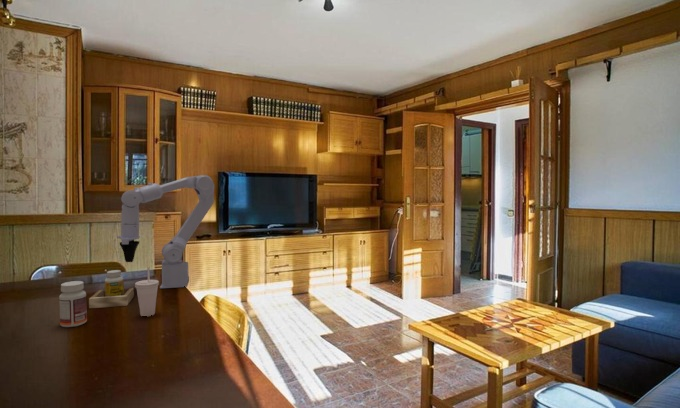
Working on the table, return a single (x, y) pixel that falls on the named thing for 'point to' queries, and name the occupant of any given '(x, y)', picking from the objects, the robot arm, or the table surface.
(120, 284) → the supplement bottle
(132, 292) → the beech corral
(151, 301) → the smoothie
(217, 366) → the table surface
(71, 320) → the pill bottle
